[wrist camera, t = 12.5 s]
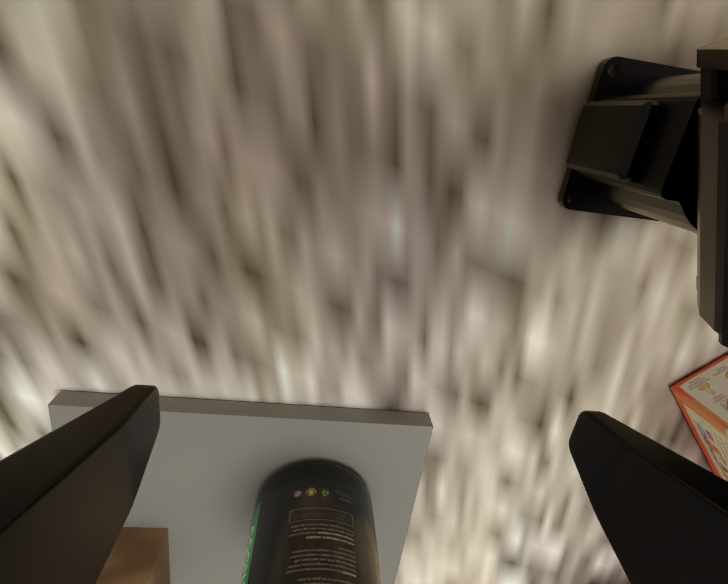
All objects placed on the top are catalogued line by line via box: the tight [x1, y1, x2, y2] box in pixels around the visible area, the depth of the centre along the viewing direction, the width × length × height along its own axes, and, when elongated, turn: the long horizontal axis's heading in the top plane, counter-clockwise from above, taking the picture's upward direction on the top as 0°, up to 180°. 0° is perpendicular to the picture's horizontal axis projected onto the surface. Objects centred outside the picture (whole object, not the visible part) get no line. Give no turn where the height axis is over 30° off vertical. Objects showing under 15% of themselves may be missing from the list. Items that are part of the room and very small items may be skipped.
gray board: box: [48, 391, 433, 584], centre depth 26 cm, size 20×14×1 cm
